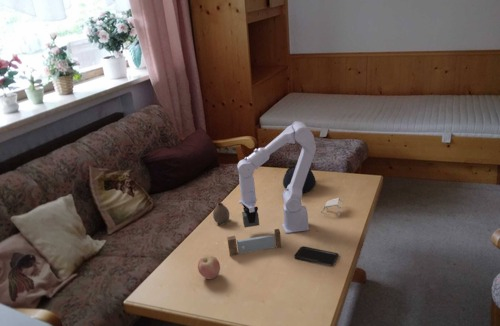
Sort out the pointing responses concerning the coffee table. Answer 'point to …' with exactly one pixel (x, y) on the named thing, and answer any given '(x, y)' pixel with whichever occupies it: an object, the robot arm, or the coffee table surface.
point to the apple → (209, 267)
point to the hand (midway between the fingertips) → (251, 220)
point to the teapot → (309, 180)
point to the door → (255, 244)
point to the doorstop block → (246, 222)
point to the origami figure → (333, 204)
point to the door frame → (233, 245)
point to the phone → (316, 256)
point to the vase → (221, 214)
